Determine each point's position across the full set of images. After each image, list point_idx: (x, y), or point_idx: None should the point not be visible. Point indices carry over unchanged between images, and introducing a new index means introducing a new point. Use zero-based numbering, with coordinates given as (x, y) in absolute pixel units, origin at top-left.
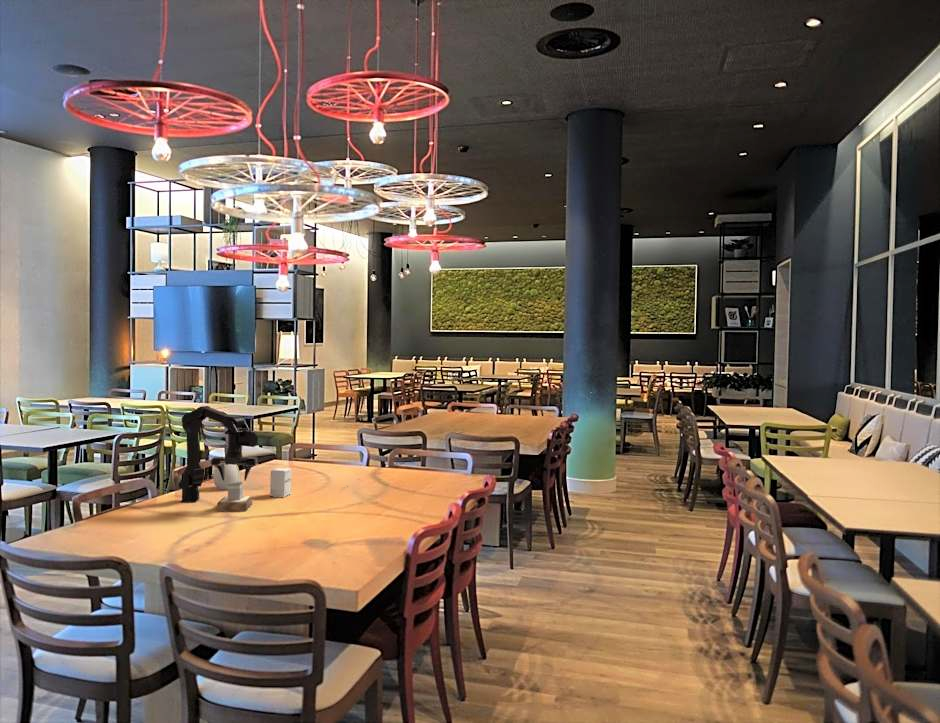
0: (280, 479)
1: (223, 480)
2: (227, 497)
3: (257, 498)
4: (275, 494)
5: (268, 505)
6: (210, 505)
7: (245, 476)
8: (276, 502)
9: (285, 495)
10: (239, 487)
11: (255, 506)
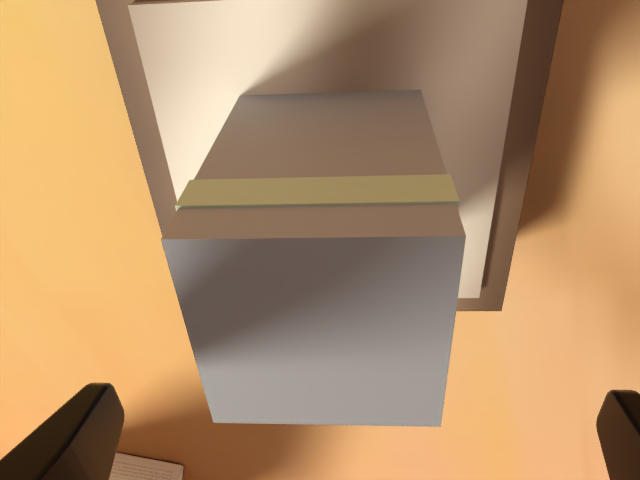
0: None
1: (617, 391)
2: None
3: (254, 430)
4: (133, 474)
5: (42, 238)
6: (630, 222)
7: (17, 471)
8: (40, 333)
9: None
10: (193, 191)
11: (145, 197)
